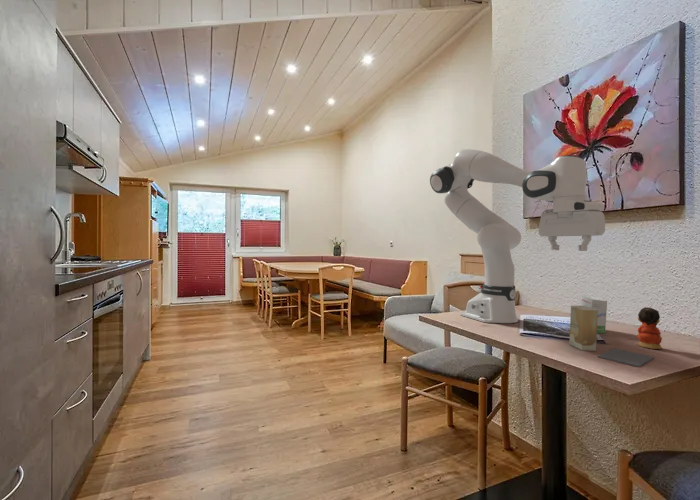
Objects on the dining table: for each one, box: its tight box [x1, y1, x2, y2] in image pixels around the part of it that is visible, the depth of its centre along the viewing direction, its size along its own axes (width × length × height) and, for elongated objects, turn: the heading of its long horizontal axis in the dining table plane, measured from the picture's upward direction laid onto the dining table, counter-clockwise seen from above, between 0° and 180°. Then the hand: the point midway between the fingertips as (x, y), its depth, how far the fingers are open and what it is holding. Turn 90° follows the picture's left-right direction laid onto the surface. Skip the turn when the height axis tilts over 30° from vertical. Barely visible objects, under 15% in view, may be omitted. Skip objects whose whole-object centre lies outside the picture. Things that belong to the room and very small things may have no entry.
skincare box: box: [568, 305, 598, 352], centre depth 101 cm, size 6×4×12 cm
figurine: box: [637, 306, 663, 350], centre depth 102 cm, size 6×6×12 cm
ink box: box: [580, 295, 608, 334], centre depth 121 cm, size 9×5×12 cm, turn 168°
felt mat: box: [597, 347, 655, 368], centre depth 93 cm, size 9×12×1 cm
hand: (568, 250), depth 107 cm, fingers open, 8 cm apart
